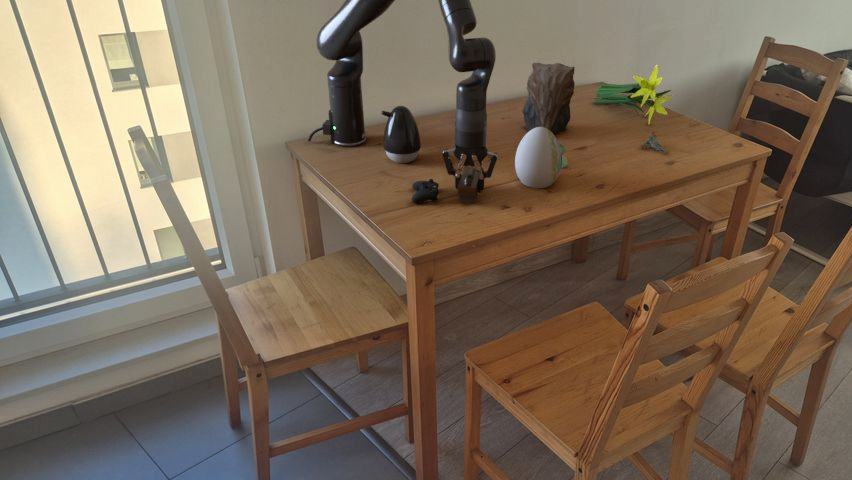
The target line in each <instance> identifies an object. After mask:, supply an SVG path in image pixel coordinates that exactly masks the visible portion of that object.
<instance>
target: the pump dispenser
mask: <svg viewBox="0 0 852 480" xmlns="http://www.w3.org/2000/svg"><path fill="white" fill-rule="evenodd" d="M380 114H381V115H382V116H385V117H387V120H386V124H385V128H384V132H383V150H384V151H385V154H386V156H387V157H388V159H390V161H392V162H395V163H399V164H407V163H411V162H413V161H414V160H415V159H416V158H417V157H418V155H419V154H420V151H421V148H422V144H421V136H420V131H419V127H418V125H417V122H416V119H415V117H414V115H413V113H412V111H411V110H410V109H409V108H408V107H407V106H405V105H397V106H395V107H393V108H392V109H391V111H386V110H381V113H380Z"/></svg>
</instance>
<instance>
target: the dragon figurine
mask: <svg viewBox="0 0 852 480" xmlns="http://www.w3.org/2000/svg"><path fill="white" fill-rule="evenodd" d="M655 132H656V131H654V129H652V130H651V132H650V134H649V135H650V136H648V139H647V140H646V141H645V142H643V143H642V144H641V145H640V146H639V148H641V149H644V148H645V150H647V148H649V146H651V148H653V150H654V149H655V150H656V151H661V152H663V154H666V155H667V151H665V150H664V149H662V147H663V146H662V145H661V144H660V142H658V141H657V140H655V139H656V137H657V134H655Z"/></svg>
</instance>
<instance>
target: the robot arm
mask: <svg viewBox="0 0 852 480" xmlns="http://www.w3.org/2000/svg"><path fill="white" fill-rule="evenodd" d="M395 1H396V0H344V2H343V4H341V6H340V7H339V9H337V11H336V12H335V13H334V15H332V16H331V18H329V19H328V20H327V22H325V23H324V24H323V26H322V27H320V28H319V31H318V33H317V35H316V48H317V51H318V53H319V54H320V56H321V57H323V58H324V59H326V60H329V61H335V62H334V65H333V66H332V67H331V68H330V69H329V71H328V72H327V74H326V80H327V81H326V82H327V92H328V100H329V110H328V111H327V113H328V114H327V115H328V119H326V120H325V121H324V122H323V123H322V126H321V127H319V128H316V129H314V130H313V131H312V132H311V133H310V135H309V136H308V139H307V141H308V142H309V143H310V142H311V141H312V138H313V136H314V135H316V134H317V133H318V132H320V131H322V135H323V136H324V135H325V136H330V143H331V144H333V145H336V146H341V147H356V146H360V145H363V144H364V143H366V140H367V138H366V136H367V131H366V129H365V117H364V102H363V101H364V100H363V88H362V87H363V86H362V76H363V72H364V48H363V47H364V46H363V39H362V38H363V37H362V35H361V31H362V29H364V28H365V27H367V26H368V25H370V24H371V23H372V22H374V21H375V20H377V19H378V18H379V17H381V16H382V15H383V14H384V13H385V12H387V10H388V9H389V8H390V7H391V6H392V4H394V2H395ZM437 2H438V6H439V9H440V12H441V16H442V18H443V21H444V24H445V28H446V36H447V45H448V48H447V49H448V61H449V64H450V66H451V67H452V69H454V70H455V71H456V72H458V73H469V72H472V73H471V74H470V76H469V77H467V78H465V79H462V80H461V81H459V82H458V83H457V84H456V93H455V95H456V96H455V97H456V99H455V101H456V103H455V105H456V106H455V115H454V146H453V148H451V149H448V148H444V150H443V152H442V154H441V156H442V159H443V162H444V166H445V169H446V173H447V174H448V175H449V176H454V178H455V179H454V180H455V181H454V187H455V189H456V190H458V185H459V182H460V179H461V176H462V172H463V169H464V167H473V168H476V171H477V173H478V177H479V178H478V193H477V194H481V193H482V192H483V191H484V188H485V180H486V179H490V178H491V177H492V174H493V171H494V169H495V166H496V163H497V160H498V158H499V154H498V153H497V152H491V151H488V148H487V125H488V124H487V123H488V113H487V91H488V87H489V84H490V80H491V78H492V74H493V72H494V71H493V70H494V67H495V64H496V56H497V53H496V47H495V45H494V43H493V41H492V40H491V39H490V38H488V37H482V36H481V37H473V38H465V37H464V36H466V35H468V34H469V33H470V34H471V32H473V31H474V30H475V29H476V27H477V24H478V23H477V17H476V14H475V11H474V8H473V6H472V2H471V0H437ZM453 156H454V157H455V158H456V160H457V161H458V165H457V168H454V164H453V161H452V158H453ZM485 158H487V161H488V162H489V165H488V168H487V170H485V169H484V166H483V161H484V160H485Z"/></svg>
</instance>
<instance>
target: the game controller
mask: <svg viewBox="0 0 852 480" xmlns="http://www.w3.org/2000/svg"><path fill="white" fill-rule="evenodd" d="M439 186H440V185H439V183H438V182H437V181H434V179H432V178H430V179H428V180H417V181H415V182H413V183H412V185H411V187H412V190H414V191H416V192H415V193H414V194H413V195H412V197H411V202H412V203H413V204H421V203H424V202H427V201H432V202H435V201H439V198H438V196H439V191H440V190H439Z"/></svg>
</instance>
